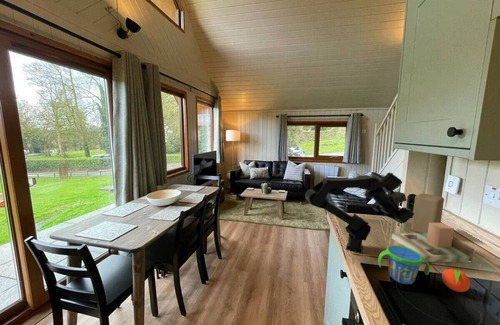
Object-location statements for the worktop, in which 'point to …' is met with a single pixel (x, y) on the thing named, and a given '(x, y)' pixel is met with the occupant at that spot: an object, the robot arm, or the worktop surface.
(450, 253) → the beige flat square piece
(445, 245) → the terracotta block
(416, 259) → the snack cup
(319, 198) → the robot arm
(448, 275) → the clementine
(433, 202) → the wooden block
